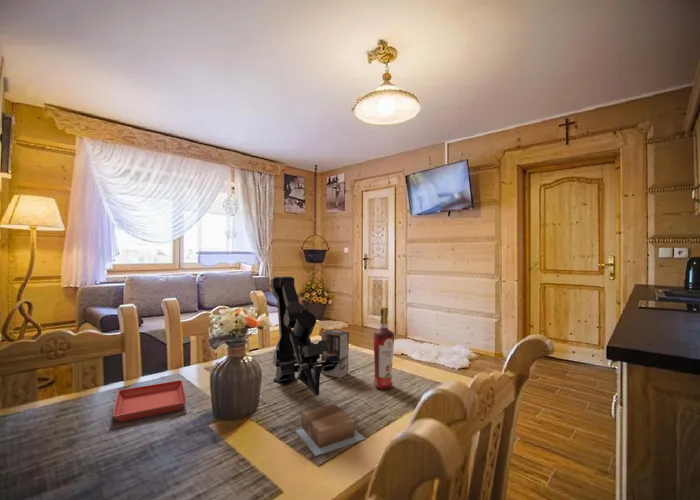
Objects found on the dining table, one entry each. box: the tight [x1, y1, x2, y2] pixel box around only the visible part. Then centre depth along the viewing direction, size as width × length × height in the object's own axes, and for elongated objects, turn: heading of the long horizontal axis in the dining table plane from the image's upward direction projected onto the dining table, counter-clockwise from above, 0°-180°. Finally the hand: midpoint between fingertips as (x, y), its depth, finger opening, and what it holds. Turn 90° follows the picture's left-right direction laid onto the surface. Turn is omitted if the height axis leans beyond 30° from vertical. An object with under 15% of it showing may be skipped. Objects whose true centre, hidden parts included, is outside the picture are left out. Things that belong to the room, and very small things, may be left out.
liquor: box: [372, 306, 395, 390], centre depth 117 cm, size 7×7×28 cm
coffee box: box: [320, 329, 350, 379], centre depth 129 cm, size 9×6×16 cm
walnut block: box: [301, 403, 356, 448], centre depth 87 cm, size 4×10×11 cm
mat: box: [295, 428, 366, 457], centre depth 86 cm, size 12×14×1 cm
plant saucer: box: [112, 379, 187, 423], centre depth 101 cm, size 18×18×3 cm
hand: (317, 395), depth 93 cm, fingers closed
